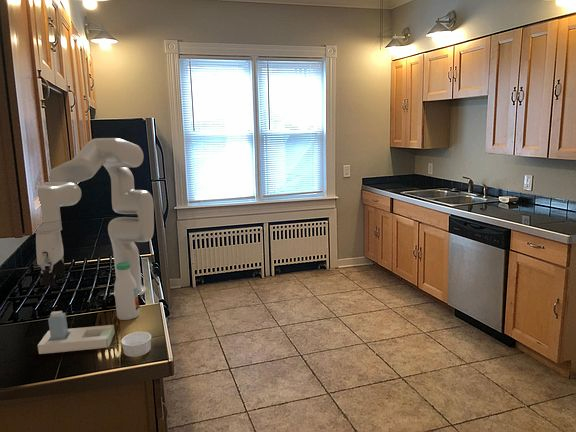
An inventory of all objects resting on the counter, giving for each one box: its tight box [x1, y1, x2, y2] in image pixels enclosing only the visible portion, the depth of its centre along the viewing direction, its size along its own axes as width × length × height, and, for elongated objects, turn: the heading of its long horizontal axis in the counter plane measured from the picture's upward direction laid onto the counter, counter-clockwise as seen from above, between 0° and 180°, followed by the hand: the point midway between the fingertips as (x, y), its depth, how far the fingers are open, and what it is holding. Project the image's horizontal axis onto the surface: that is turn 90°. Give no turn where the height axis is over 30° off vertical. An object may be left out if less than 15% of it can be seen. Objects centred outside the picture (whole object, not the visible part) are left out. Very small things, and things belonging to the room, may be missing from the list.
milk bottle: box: [113, 262, 140, 321], centre depth 169 cm, size 8×8×20 cm
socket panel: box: [37, 324, 115, 355], centre depth 152 cm, size 10×21×3 cm, turn 99°
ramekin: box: [120, 331, 152, 358], centre depth 146 cm, size 9×9×4 cm
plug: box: [47, 310, 69, 341], centre depth 150 cm, size 4×4×11 cm
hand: (54, 279), depth 147 cm, fingers open, 9 cm apart
